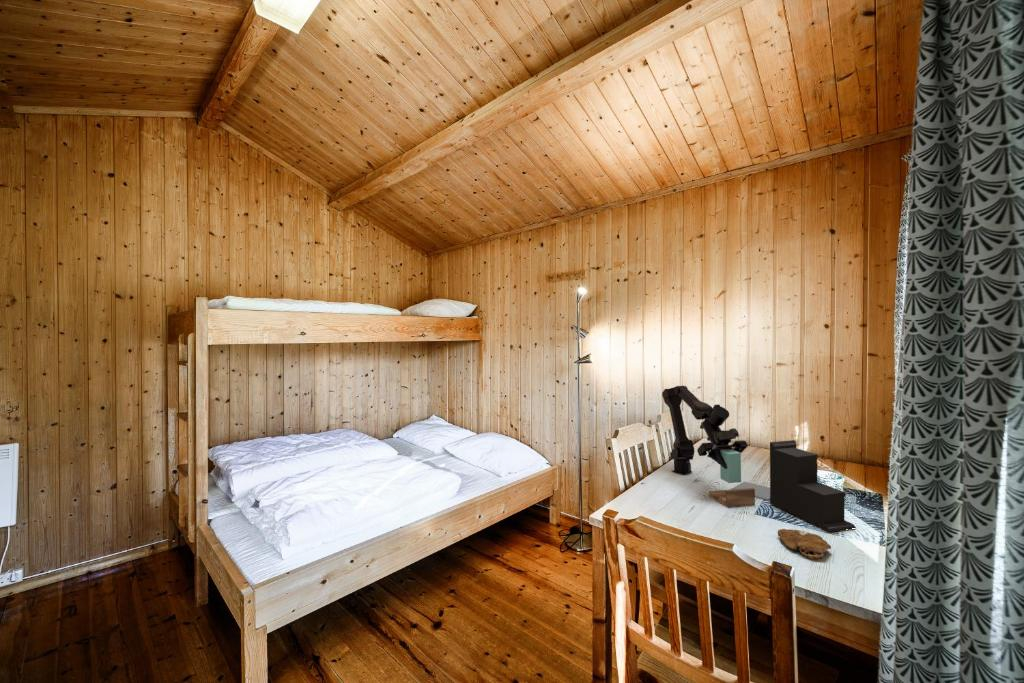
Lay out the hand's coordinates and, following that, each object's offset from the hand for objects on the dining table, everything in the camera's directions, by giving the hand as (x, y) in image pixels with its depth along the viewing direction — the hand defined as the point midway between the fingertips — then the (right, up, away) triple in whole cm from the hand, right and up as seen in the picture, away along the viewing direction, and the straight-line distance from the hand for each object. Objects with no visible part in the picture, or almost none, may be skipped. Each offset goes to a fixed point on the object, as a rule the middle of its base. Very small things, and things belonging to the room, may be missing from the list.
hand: (732, 468), depth 156 cm
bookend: (+20, -13, -13) cm, 27 cm away
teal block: (0, -5, +1) cm, 5 cm away
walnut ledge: (0, -13, +1) cm, 13 cm away
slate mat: (+15, -12, +10) cm, 22 cm away
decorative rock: (+3, -14, -35) cm, 37 cm away
